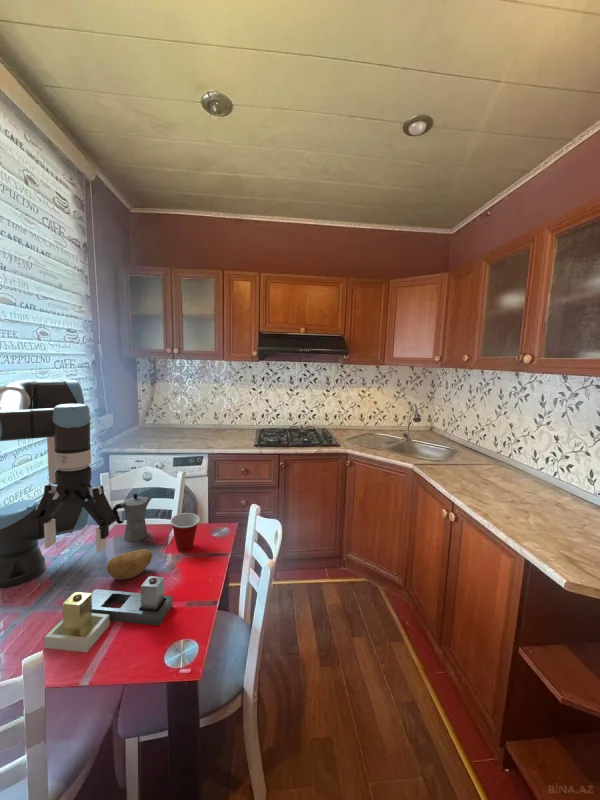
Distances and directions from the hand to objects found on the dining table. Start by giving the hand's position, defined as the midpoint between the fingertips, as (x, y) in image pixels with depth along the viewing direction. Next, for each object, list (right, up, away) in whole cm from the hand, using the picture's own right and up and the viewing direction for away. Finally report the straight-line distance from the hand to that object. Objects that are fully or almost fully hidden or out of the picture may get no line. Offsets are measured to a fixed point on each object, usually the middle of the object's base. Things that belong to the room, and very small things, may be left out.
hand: (75, 547), depth 88 cm
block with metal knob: (-1, -24, +2) cm, 24 cm away
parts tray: (-1, -24, +3) cm, 24 cm away
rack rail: (+7, -24, +12) cm, 27 cm away
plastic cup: (+12, -20, +46) cm, 52 cm away
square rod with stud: (+15, -24, +11) cm, 30 cm away
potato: (0, -22, +28) cm, 36 cm away
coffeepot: (-11, -19, +53) cm, 57 cm away
